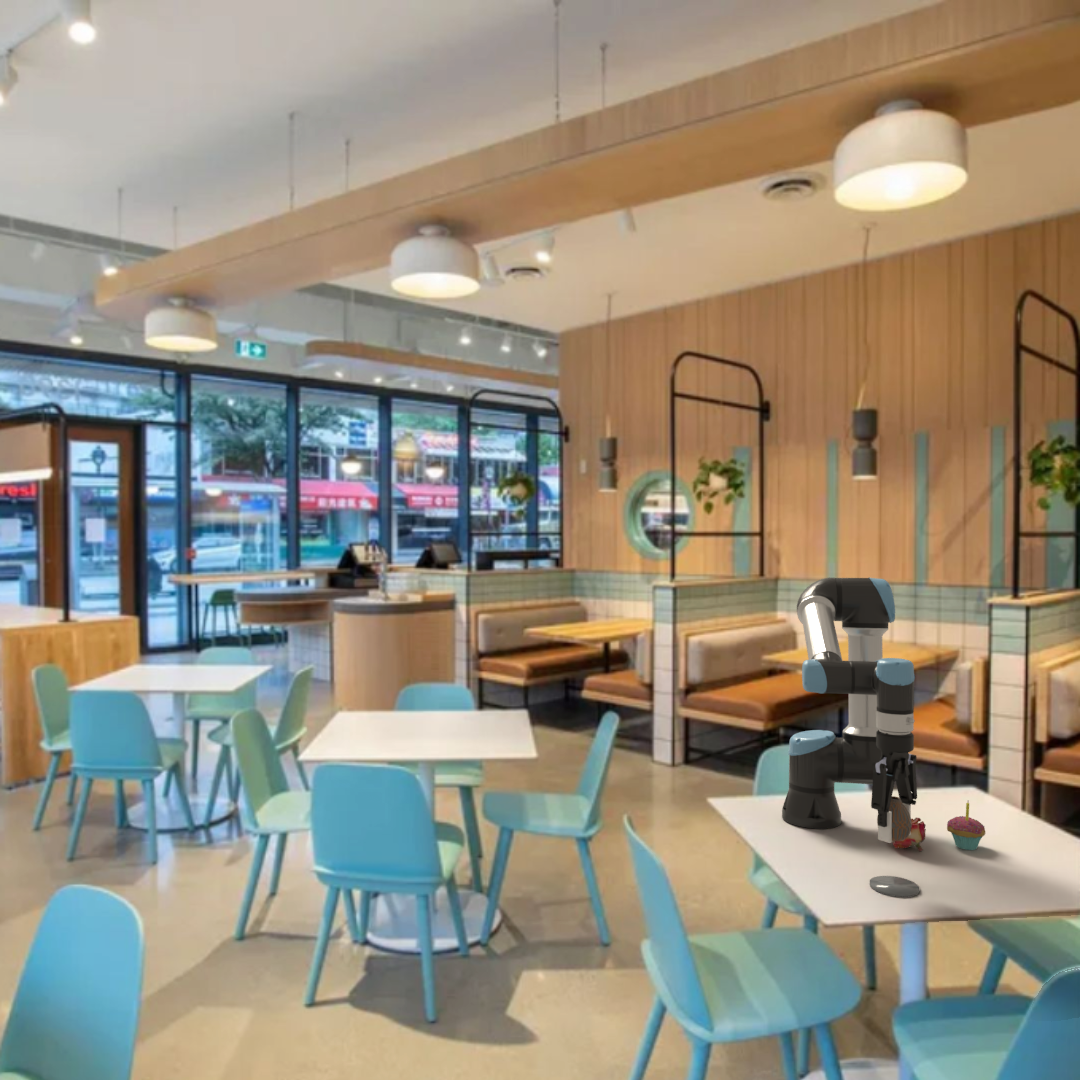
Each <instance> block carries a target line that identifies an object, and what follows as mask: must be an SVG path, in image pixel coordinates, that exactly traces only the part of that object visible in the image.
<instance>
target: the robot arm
mask: <svg viewBox="0 0 1080 1080" xmlns="http://www.w3.org/2000/svg"><path fill="white" fill-rule="evenodd" d="M894 598H895V597H894V593H893V590H892V587H891V585H890V583H889V582H888V581H887V580H886V579H884V578H875V577H874V578H873V577H825V578H821V579H819V580H816V581H814V582H812V583H811V584H809V586H807V587H806V588H805V589H804V590H803V592H802V593H801V594H800V596H799V597H798V599H797V603H796V613H797V619H798V621H799V622H800V623H801V624H802V626H803V633H804V641H805V646H806V652H807V658H808V659H806V660H804V661H803V662H802V666H801V679H802V681H801V682H802V688H803V690H804V691H806V692H808V693H818V694H820V695H821V694H841V695H842V694H844V695H845V694H846V695H847V694H848V724H847V726H846V727H845V728H843V730H842V737H836V735H835V732H833V731H831V730H827V729H826V730H824V729H812V730H805V731H799V732H796V733H794V734H792V736H791V737H790V739H789V743H788V745H789V746H788V752H787V753H788V755H789V756H788V762H789V763H788V765H789V767H788V789H787V790H788V791H787V793H786V796H785V800H784V803H783V805H782V808H781V817H782V820H783V821H784V822H786V823H788V824H790V825H794V826H796V827H801V828H805V829H822V830H823V829H832V828H836V827H839V826H840V825H841V824H842V812H841V811H840V806H839V804H838V800H837V797H836V793H835V783H841V784H861V785H862V784H863V785H870V786H872V787H871V799H870V801H871V802H870V807H871V809H874V810H876V811H877V816H878V824H877V840H879V841H881V842H886V843H889V844H890V843H893V841H892V812H891V811H889V808H890V803H891V798H892V796H893V792H894V789H895V788H894V787H895V785H896V787H897V792H898V793H897V794H898V797H899V798H900V799H901V801H902V803H903V805H904V806H905V807H906V809H907V810H908V811H909V814H910V816H911V815H912V810H911V806H912V805H914V806H916V804H917V799H918V788H917V786H918V785H917V783H918V782H917V767H916V766H917V765H916V764H917V755H916V754H912V753H910V752H912V751H914V748H915V745H914V743H915V742H914V741H915V740H914V739H915V737H914V736H915V735H914V733H913V732H914V730H915V729H914V727H915V725H914V723H916V722H915V719H914V712H915V710H914V706H915V679H916V676H915V668H914V663H913V662H912V661H911V660H908V659H905V658H897V657H883V635H884V634H886V632H887V631H889V623H890V624H892V623H894V622H895V620H896V605H895V599H894ZM835 622H841V628H842V629H843V631H844V632H846V634H847V637H848V638H847V645H848V647H847V648H848V649H847V651H848V652H847V653H848V656H847V657H848V660H843V658H842V654H841V653H842V652H841V649H840V643H839V640H838V635H837V631H836V626H835ZM909 835H911V831H910V834H909Z"/></svg>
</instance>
